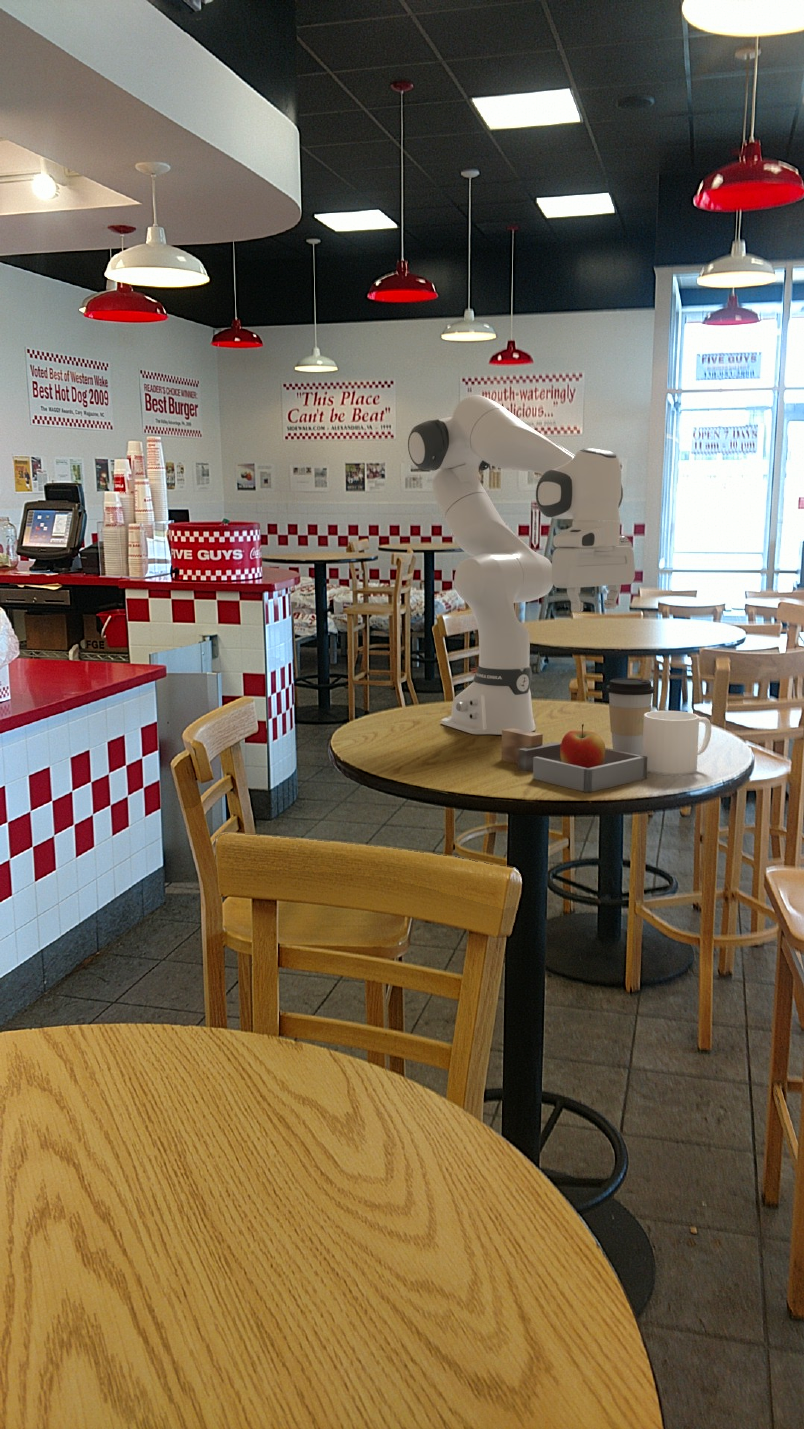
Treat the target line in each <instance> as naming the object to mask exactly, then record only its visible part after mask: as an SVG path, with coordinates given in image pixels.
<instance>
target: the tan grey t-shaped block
mask: <svg viewBox="0 0 804 1429" xmlns="http://www.w3.org/2000/svg"><path fill="white" fill-rule="evenodd" d="M543 735H544V734H542V733H539V732H534V731H532V732H530V731H525V730H520V729H515V728H510V729H504V730H502V735H501V761H504V762H509V763H513V764H517V770H518V771H521V772H531V771H533V757H542V758H546V759H550V760H555V761H559V762H562V761H561V757H560V746H561V742H556V741H553V742H550V743H548V742H547V743H544V744H543V741H544V740H543V739H544V738H543V737H544V736H543Z"/></svg>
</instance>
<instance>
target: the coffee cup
mask: <svg viewBox="0 0 804 1429" xmlns="http://www.w3.org/2000/svg"><path fill="white" fill-rule="evenodd" d="M605 692H606V693H608V700H609V701H608V702H609V704H608V710H609V723H610V724H609V727H610V732H611V739H612V740H611V741H612V743H611V744H612V749H613V750H618V751H622V752H627V753H632V754H637V755H642V753H643V727H644V714H645V713H647V712H652V711H651V710H652V700H653V699H652V698H653V694H654V693H656V692H655V687H654V686H652V680H651V681H650V680H648V679H643V678H632V677H631V678H630V677H620V678H619V677H618V678H613V679H610V680H609V684H608V685H606V689H605Z"/></svg>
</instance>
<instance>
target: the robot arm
mask: <svg viewBox="0 0 804 1429" xmlns="http://www.w3.org/2000/svg"><path fill="white" fill-rule="evenodd" d="M407 450H408V455H409V458H410V460H411V461H412V463H413V464H414V465H415V467H416V468H418V469H419V470H423V471H429V472H430V471H433V472H434V471H437V470H439V471H437V473H436V474H435V476H434V478H433V480H432V490H433V494H434V496H435V500H436V503H437V505H438V508H439V510H440V513H441V515H442V516H443V519H444V521H445V522H446V525H447V527H448V528H449V530H450V533H451V534H452V535H453V537H454V539H455V541H456V543H457V545H458V547H459V548H460V550H462V551H463V552H465V553H466V554H468V555H469V556H470V557H467V558H465V559H463V560H461V561H460V563H458V565H457V567H456V570H455V573H454V587H455V590H456V592H457V595H458V596H459V598H461V600H462V601H464V602H465V603H466V604H467V605H468V607H469V608H470V610H471V612H472V615H473V617H474V619H475V622H476V626H477V627H476V628H477V631H478V633H477V634H478V647H479V650H478V652H479V653H478V654H479V657H478V658H479V660H478V662H479V665H478V666H477V667H474V668H470V670H471V672H470V674H471V675H472V674H474V676H473V682H472V683H470V684H469V685H468V686H467V687H466V688H464V689H463V690H462V691H461V692H460V693H458V694H457V695H456V696H455V697H454V698H453V700H452V706H451V716H450V715H449V716H446V717H444V718H442V719H441V720H440V724H441V725H443V726H447V727H449V728H453V729H456V730H459V731H461V732H462V731H463V732H465V733H469V734H472V735H498V736H499V735H501V736H502V730H504V729H510V728H515V729H520V730H525V731H530V732H534V731H536V729H537V728H536V723H535V722H536V721H535V719H534V715H533V714H534V713H533V706H532V705H533V704H532V694H531V693H532V692H531V688H530V686H531V682H532V673H533V672H532V667H531V666H530V656H531V654H530V649H531V648H530V643H531V641H530V640H531V635H530V631H529V629H528V627H526V625H524V624H523V623H521V622H520V620H519V619H518V616H517V613H516V610H515V609H516V608H515V603H528V602H532V601H536V600H539V599H540V598H542V597H546V596H547V595H548V594H549V593H550V592H551V591H552V588H554V587H555V588H557V589H566V594H567V597H568V600H569V601H570V604H571V605H570V606H571V607H570V609H571V610H570V611H571V612H572V613H581V612H583V611H584V602H583V601H581V598H580V597H579V596H580V595H579V594H581V588H591V587H606V586H607V591H608V594H607V597H606V599H604V600H603V604H604V605H603V608H604V609H605V610H615V609H616V608H617V600H618V597H619V595H620V593H621V590H622V589H621V588H622V585H623V586H625V585H632V584H633V583H634V580H635V578H636V567H635V566H636V565H635V554H634V551H633V545H632V544H633V543H632V541H630V539H629V538H628V537H627V536H624V535H623V536H620V533H621V516H620V512H619V509H620V507H621V505H622V502H623V498H624V489H623V485H622V469H621V463H620V459H619V456H618V455H617V454H616V453H615V452H613V451H611V450H607V449H598V448H589V447H588V448H582V449H579V450H578V451H577V452H576V454H574V453H572V452H571V451H569V450H568V449H566V448H564V446H562V445H560V444H558V443H557V442H555V441H553V440H551V439H549V438H548V437H547V436H545V435H544V434H542V433H540V432H538V431H537V430H535V429H534V428H532V427H531V426H530V425H528V424H527V423H525V422H524V421H522V420H521V419H520V418H518V417H517V416H516V415H515V414H514V413H512V412H511V411H510V410H508V409H507V408H505V407H504V406H502V405H501V404H499V403H498V402H496V401H494V400H492V399H490V398H488V397H486V396H483V395H481V394H471V395H468V396H466V397H464V398H463V399H461V400H460V401H459V402H458V403H457V404H456V406H455V408H454V411H453V413H452V415H450V416H448V417H443V418H442V417H441V418H439V419H432V420H426V421H423V422H421V423H418V424H416V425H415V426H414V427H413V428H412V429H411V431H410V433H409V435H408V440H407ZM490 466H493V467H495V468H498V469H501V470H510V471H520V472H521V471H522V472H531V473H537V474H541V477H540V478H539V480H538V482H537V485H536V488H535V501H536V505H537V507H538V509H539V511H540V512H541V513H542V515H543V516H545V517H547V518H550V519H555V520H572V526H570V527H568V528H567V529H565V530H563V531H561V532H559V533H557V534H555V535H554V536H553V538H552V545H553V547H554V548H555V550H554V551H553V554H552V559H551V561H550V560H549V558H547V557H546V556H544V555H542V554H540V553H538V552H536V551H535V550H534V549H532V548H530V546H528V544H526V543H525V542H524V541H523V540H521V538H519V536H517V534H515V533H514V532H513V531H512V529H511V528H510V527H509V526H508V525H507V523H505V521H504V520H503V518H502V516H501V515H500V513H499V512H498V510H497V508H496V507H495V505H494V504H493V502H492V499H491V498H490V496H489V495H488V492H487V491H486V489H485V488H484V487H483V485H482V483H481V480H480V478H479V471H486V470H488V469H489V468H490ZM553 586H554V587H553Z"/></svg>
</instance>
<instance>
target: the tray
mask: <svg viewBox="0 0 804 1429" xmlns="http://www.w3.org/2000/svg"><path fill="white" fill-rule="evenodd" d="M647 774H648V772H647V757H646V756H642V755H637V754H632V753H627V752H622V751H618V750H613V748H607V747H605V758H604V761H603V764H602V765H600V766H596V767H591V768H585V767H581V766H576V765H572V764H568V763H563V762H559V761H555V760H550V759H546V758H542V757H533V770H532V779H534V780H537V781H539V782H544V783H548V784H552V785H555V786H560V787H563V788H567V789H572V790H576V791H579V792H584V793H588V794H589V793H592V792H597V791H601V790H604V789H608V788H613V787H616V786H617V787H618V786H620V785H621V786H622V785H624V784H628V783H629V784H630V783H633V782H637V781H640V780H646V779H647Z"/></svg>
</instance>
